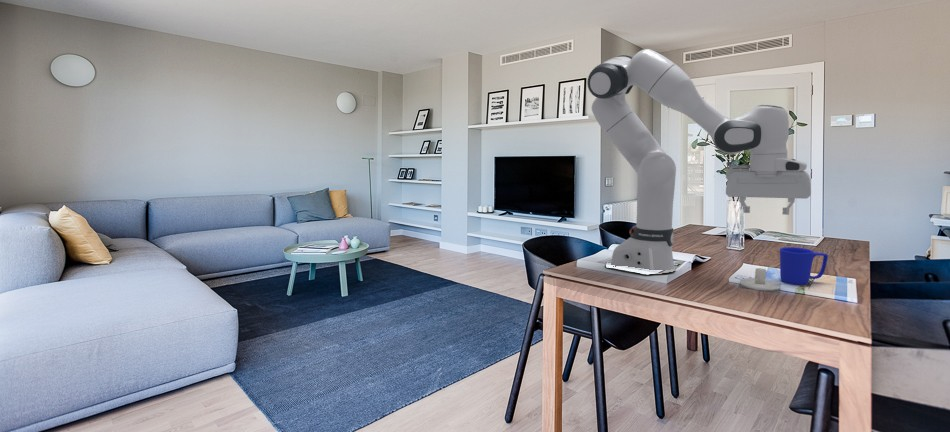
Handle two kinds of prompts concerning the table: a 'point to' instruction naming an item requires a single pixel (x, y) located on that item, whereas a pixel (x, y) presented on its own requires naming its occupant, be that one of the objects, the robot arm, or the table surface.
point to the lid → (760, 282)
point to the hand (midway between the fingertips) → (765, 213)
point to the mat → (759, 290)
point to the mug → (798, 265)
